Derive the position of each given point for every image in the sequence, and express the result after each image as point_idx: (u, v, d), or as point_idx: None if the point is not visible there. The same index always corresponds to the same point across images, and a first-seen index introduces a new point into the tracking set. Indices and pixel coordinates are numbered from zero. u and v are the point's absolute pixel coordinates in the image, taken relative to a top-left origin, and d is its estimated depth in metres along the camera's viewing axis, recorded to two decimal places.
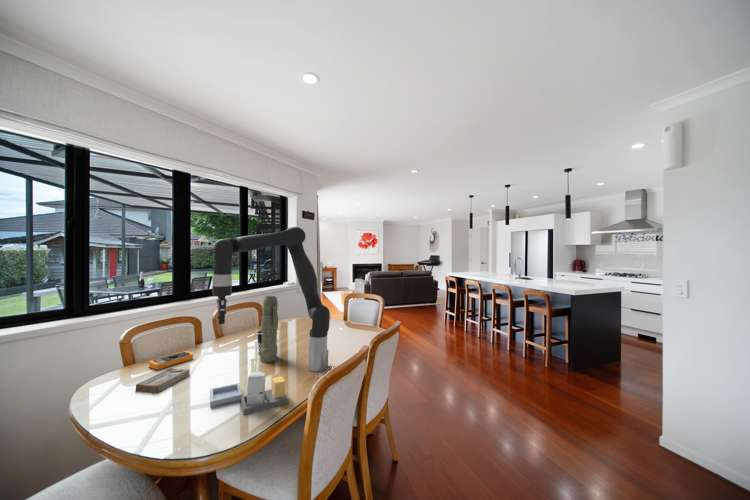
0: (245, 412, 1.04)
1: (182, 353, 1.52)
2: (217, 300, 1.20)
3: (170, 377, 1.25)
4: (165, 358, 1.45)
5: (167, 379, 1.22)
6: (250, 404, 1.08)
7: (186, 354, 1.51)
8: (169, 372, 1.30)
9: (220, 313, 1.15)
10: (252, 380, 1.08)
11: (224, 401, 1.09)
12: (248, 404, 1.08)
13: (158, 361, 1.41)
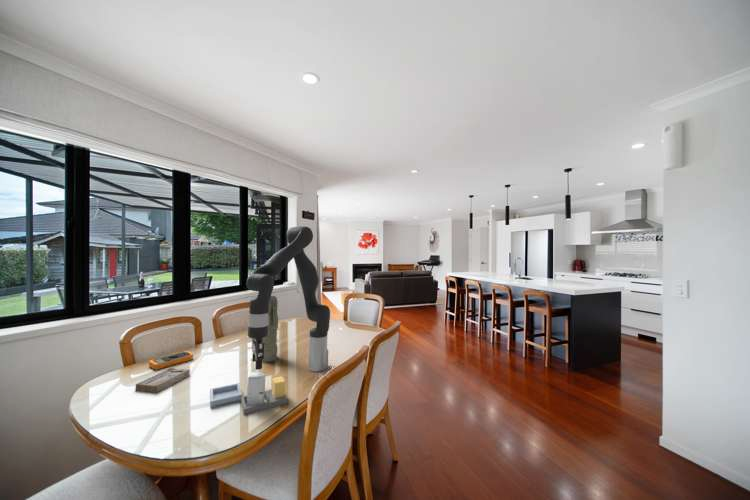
0: (245, 412, 1.04)
1: (183, 353, 1.52)
2: (253, 342, 1.08)
3: (169, 377, 1.25)
4: (165, 358, 1.45)
5: (167, 379, 1.22)
6: (250, 404, 1.08)
7: (186, 354, 1.51)
8: (169, 372, 1.30)
9: (258, 358, 1.04)
10: (252, 380, 1.08)
11: (224, 401, 1.09)
12: (248, 404, 1.08)
13: (158, 361, 1.41)
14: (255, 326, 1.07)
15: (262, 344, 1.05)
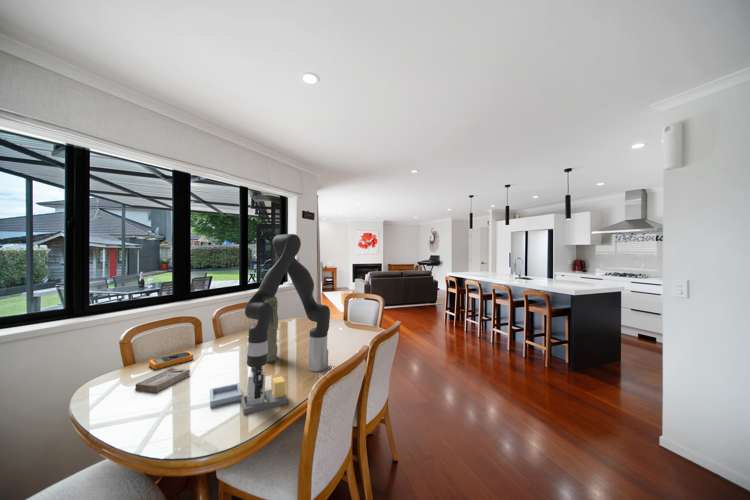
0: (245, 412, 1.04)
1: (183, 353, 1.52)
2: (252, 371, 1.08)
3: (169, 377, 1.25)
4: (165, 358, 1.45)
5: (167, 379, 1.22)
6: (250, 404, 1.08)
7: (186, 355, 1.50)
8: (170, 372, 1.30)
9: (257, 389, 1.05)
10: (252, 380, 1.08)
11: (224, 401, 1.09)
12: (248, 404, 1.08)
13: (157, 361, 1.42)
14: (254, 355, 1.06)
15: (261, 376, 1.05)
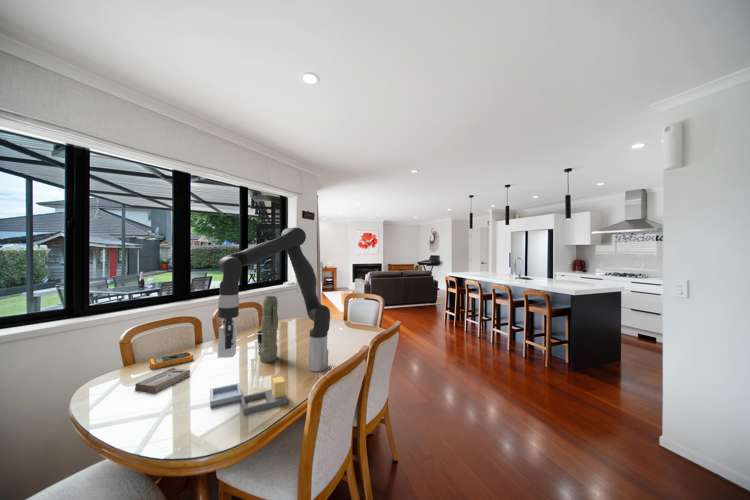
0: (245, 412, 1.04)
1: (184, 353, 1.51)
2: (223, 322, 1.12)
3: (169, 377, 1.24)
4: (165, 357, 1.46)
5: (166, 380, 1.22)
6: (221, 354, 1.12)
7: (186, 355, 1.49)
8: (170, 372, 1.30)
9: (227, 338, 1.09)
10: (223, 331, 1.12)
11: (224, 401, 1.09)
12: (219, 354, 1.12)
13: (157, 360, 1.42)
14: (224, 306, 1.11)
15: (231, 326, 1.09)
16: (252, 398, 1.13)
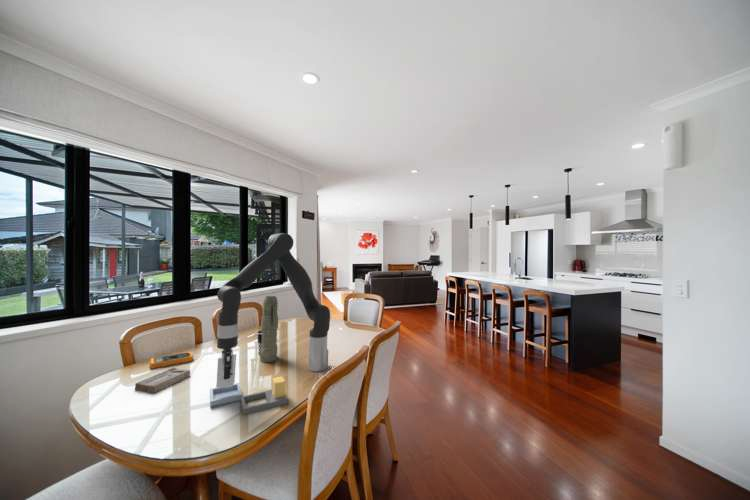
0: (245, 412, 1.04)
1: (185, 354, 1.51)
2: (222, 352, 1.12)
3: (169, 377, 1.24)
4: (166, 357, 1.46)
5: (166, 380, 1.22)
6: (220, 384, 1.12)
7: (186, 355, 1.49)
8: (170, 372, 1.30)
9: (225, 369, 1.09)
10: None
11: (224, 401, 1.09)
12: (218, 384, 1.12)
13: (157, 360, 1.43)
14: (223, 337, 1.11)
15: (230, 357, 1.09)
16: (252, 398, 1.13)
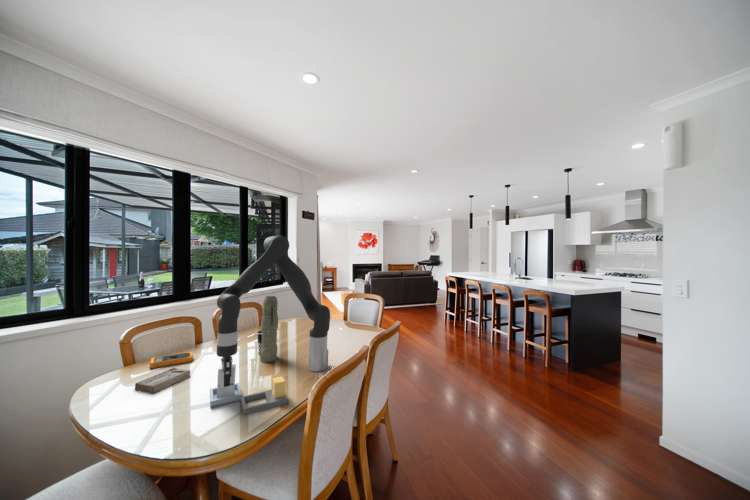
0: (245, 412, 1.04)
1: (185, 354, 1.51)
2: (222, 360, 1.12)
3: (168, 377, 1.24)
4: (166, 357, 1.46)
5: (165, 380, 1.22)
6: (220, 395, 1.12)
7: (186, 356, 1.49)
8: (170, 372, 1.30)
9: (225, 376, 1.08)
10: (222, 372, 1.13)
11: (224, 401, 1.09)
12: (218, 395, 1.12)
13: (157, 359, 1.43)
14: (223, 345, 1.11)
15: (229, 363, 1.09)
16: (252, 398, 1.13)
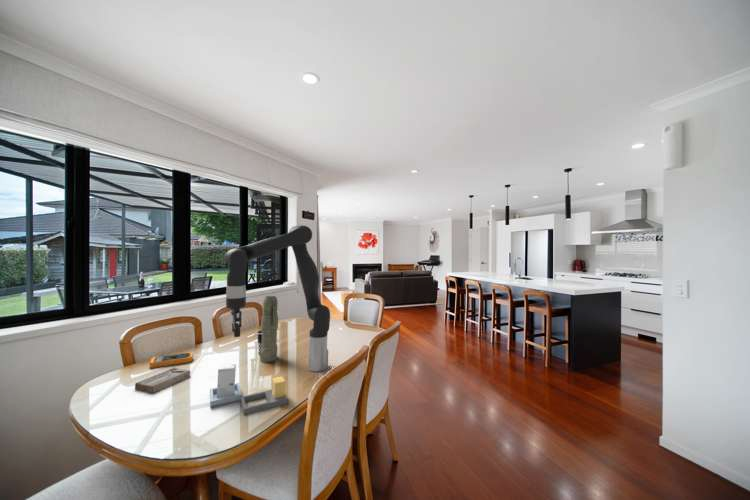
0: (245, 412, 1.04)
1: (185, 354, 1.51)
2: (231, 312, 1.16)
3: (168, 377, 1.24)
4: (166, 357, 1.46)
5: (165, 380, 1.22)
6: (220, 395, 1.12)
7: (185, 356, 1.48)
8: (171, 372, 1.30)
9: (236, 326, 1.12)
10: (222, 372, 1.12)
11: (224, 401, 1.09)
12: (218, 395, 1.12)
13: (157, 359, 1.44)
14: (232, 297, 1.14)
15: (239, 313, 1.13)
16: (252, 398, 1.13)
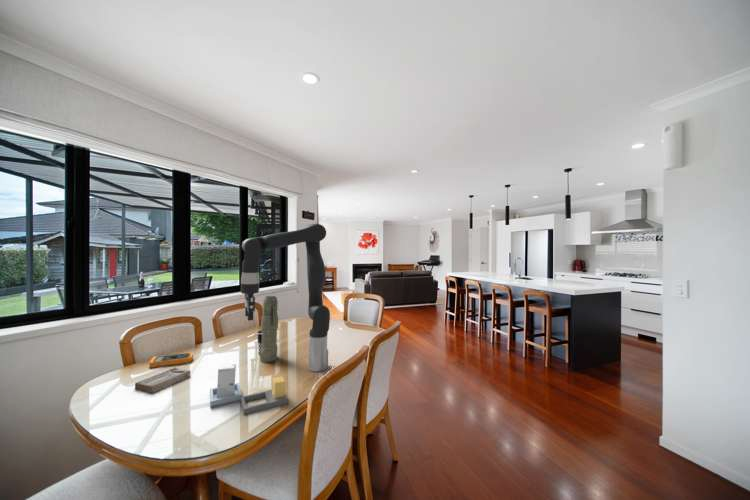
0: (245, 412, 1.04)
1: (185, 354, 1.50)
2: (246, 297, 1.24)
3: (168, 377, 1.24)
4: (166, 357, 1.47)
5: (165, 380, 1.22)
6: (220, 395, 1.12)
7: (185, 356, 1.48)
8: (171, 372, 1.30)
9: (249, 310, 1.20)
10: (222, 372, 1.12)
11: (224, 401, 1.09)
12: (218, 395, 1.12)
13: (157, 359, 1.44)
14: (247, 283, 1.22)
15: (253, 298, 1.20)
16: (252, 398, 1.13)
